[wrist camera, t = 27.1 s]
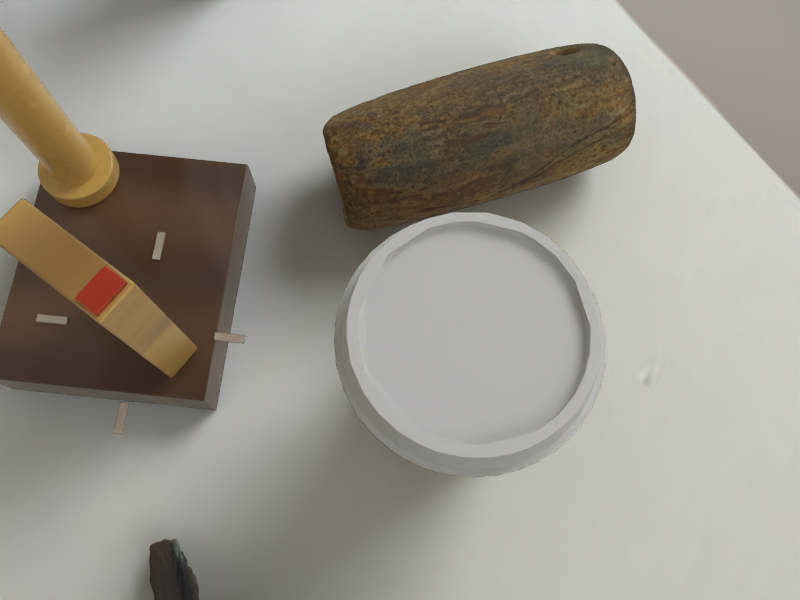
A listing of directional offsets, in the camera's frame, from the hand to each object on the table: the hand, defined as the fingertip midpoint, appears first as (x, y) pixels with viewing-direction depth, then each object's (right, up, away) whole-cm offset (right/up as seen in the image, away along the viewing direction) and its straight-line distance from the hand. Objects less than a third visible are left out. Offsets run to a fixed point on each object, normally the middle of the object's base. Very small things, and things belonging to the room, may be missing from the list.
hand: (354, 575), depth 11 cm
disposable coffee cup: (+3, 0, +25) cm, 25 cm away
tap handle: (-11, +3, +23) cm, 26 cm away
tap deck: (-12, +4, +26) cm, 29 cm away
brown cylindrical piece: (+4, +11, +29) cm, 31 cm away
